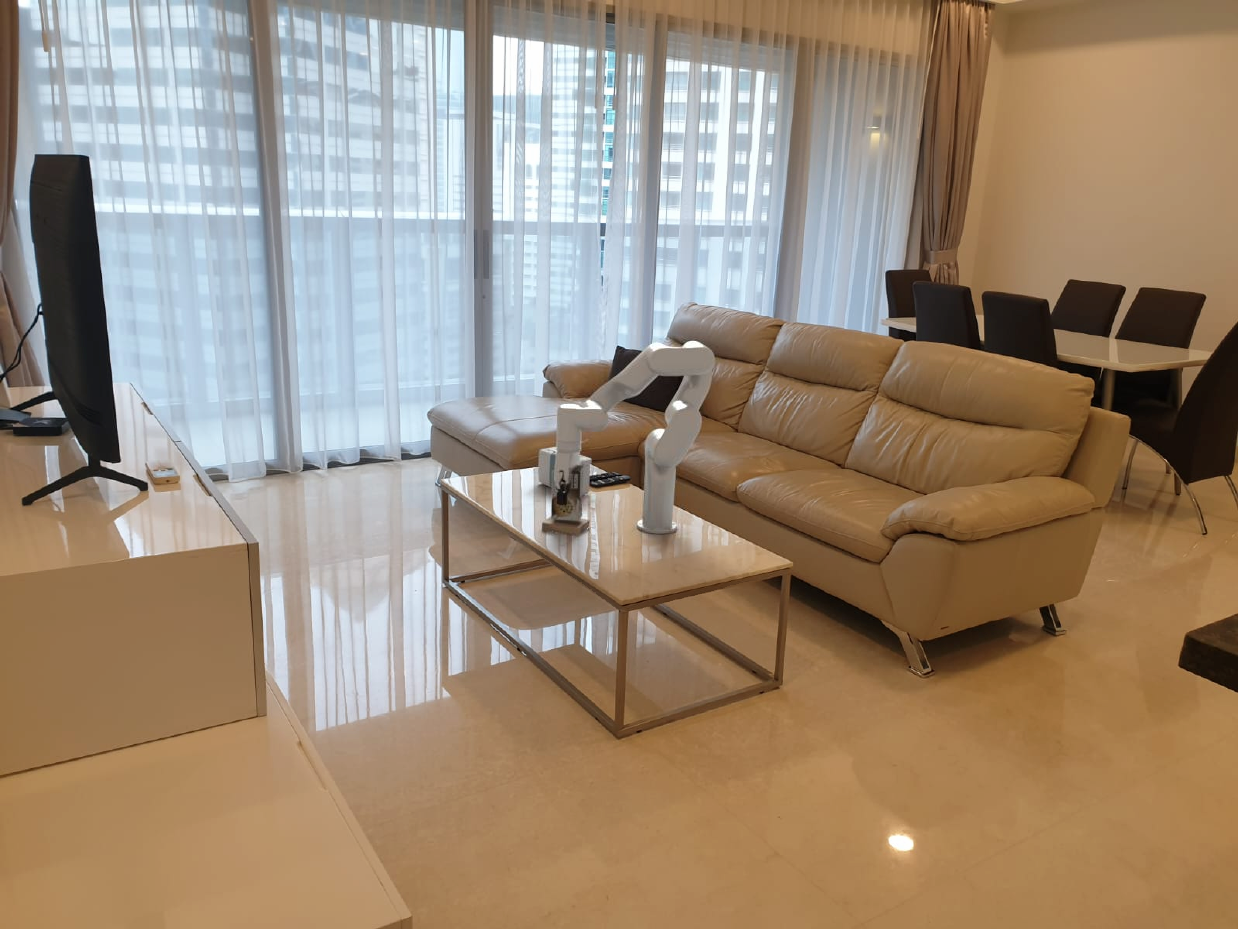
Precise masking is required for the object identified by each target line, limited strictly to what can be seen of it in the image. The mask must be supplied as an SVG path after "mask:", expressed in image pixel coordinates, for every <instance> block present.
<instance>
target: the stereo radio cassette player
mask: <svg viewBox="0 0 1238 929" xmlns="http://www.w3.org/2000/svg"><path fill="white" fill-rule="evenodd" d="M586 441H589V439H588V438H587V439H586V440H583V441H581V444H582V443H585V442H586ZM556 453H557V450H556V446H552V447H547V448H541V449H539V451H538V465H537V466H538V468H537V469H538V470H537V473H538V474H537V475H538V482H540V483H541V484H542V485H543V484H544V485H545V486H546V487H549V488H551V489H552V468H553V467H554V465H555V459H556ZM592 461H593V460H592V458H591V457H588V456H585V455H581V454H580V465H582V466H583V496H584V495H585V494H586V495H588V493H590V478H591V477H590V475H591V474H590V473H591V465H592Z"/></svg>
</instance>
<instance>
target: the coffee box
mask: <svg viewBox="0 0 1238 929" xmlns="http://www.w3.org/2000/svg"><path fill="white" fill-rule="evenodd" d="M554 468H555V465H554V467H553V468H552V488H551V501H550V502H551V504H550V507H551V508H550V510H551V513H550V517H551V519H556V520H573V521H580V519H582V517H583V496H584V495H583V466H582V465H579V466H578V467H577V468H575V469H574V470H572V475H571V482H570V483H569V484H568V486H567V490H566V492H567V505H559V504H557V491H556V490H557V489H556V485H555V482H554ZM561 482H566V480H564V477H563V479H562V481H561ZM561 486H563V488H564V485H562V484H561Z"/></svg>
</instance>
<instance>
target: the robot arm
mask: <svg viewBox="0 0 1238 929" xmlns="http://www.w3.org/2000/svg"><path fill="white" fill-rule="evenodd" d="M715 362H716V357H715V354H714V352H713V351H712V349H710V348H709V347H708V346H706V345H704V344H703V343H701V342H700V341H696V340H691V341H689V340H688V341H687V342H685V343H684V344H683V345H682V346H678V347H675V346H674V347H673V346H667V345H666V344H663V343H661V342H654V343H651V344H649V345H648V346H646V347H645V348H644V349H643V350H642V351H641V352H640V353H639V354H638V355H637V356H636V357H635V358H634V359H633V360H632V361H631V362H630V363H629V364H628V365H627V366H626V367H625V368H624V369H623V370H621V371H620V372H619V373H618V374H617V375H616V376H613V377H612V378H611V379H610V380H608V381H607V382H605V383H604V384H603V385H602V386H600V387H599V388H598V389H597V390H596V391H595V392H593V394H591V395H590V396H589V397H588V398H587V399H586V400H585V401H584V402H583V404H582V406H580V405H578V404H576V403H575V404H574V403H564V404H563V403H562V404H560V405H559V406H558V407H557V410H556V411H557V412H556V445H555V447H556V450H557V453H556V459H555V468H554V482H555V485H556V489H557V490H556V491H557V504H559V505H567V492H566V490H567V486H568V484H569V483H570V482H571V475H572V470H574V469H575V468H577V467H578V466H579V465H580V455H581V451H582V443H581V442H582V435H583V434H582V432H583V431H590V432H600V431H603V430H605V429H606V428H607V426H608V425H609V421H610V417H609V415H608V413H609V412H610V411H611V410H612V409H613V408H615V406H616V405H618V404H619V403H621V402H623V401H624V400H625V399H626V400H627V399H631V398H634V397H636V396H638V395H640V394H641V393H642V392H643V391H644V390H645V389H646V388H647V387H648V386H649V385H650V384H651V383H652V382H653V381H654V380H655V379H656V378H657V377H658V376H662V377H683V378H682V381H681V383H680V385H679V387H678V390H677V391H676V393H675V394H674V396H673V398H672V399H671V401H670V402H669V405H668V406H667V408H666V410H665V412H664V420H665V422H666V425H667V426H666V428H656V429H654V430H652V431H651V432H650V433H649V434H648V435H647V437H646V440H645V442H644V463H645V465H644V467H645V468H644V485H643V500H642V502H643V503H642V514H641V515H642V518H641V519H639V520H638V521H637V522H636V527H637V529H638V530H640V531H642V532H644V533H648V534H656V535H664V534H671V533H674V532H675V531H676V530H677V529H678V525H677V523H676V522H675V521H673V515H674V503H675V502H674V501H675V489H676V488H675V486H676V485H675V484H676V475H677V474H676V473H677V472H676V470H677V469H676V468H677V467H676V466H678V465H679V464H680V463H681V462H682V461H683V460H684V458H685V457H686V455H687V453H689V450H690V448H691V447H692V445H693V443H694V441H695V440H696V438H697V436H698V434H699V433H700V431H701V429H702V423H703V419H702V418H703V417H702V414H701V412H700V411H699V410H700V408H701V406H702V405H703V403H704V401H705V399H706V397H707V395H708V393H709V391H710V390H711V389H710V388H711V385H712V382H713V381H712V379H713V378H712V377H713V372H712V370H713V368H714V366H715ZM563 477H564V480H566V482H561V481H562V479H563ZM561 484H562V485H564V488H563V486H561Z"/></svg>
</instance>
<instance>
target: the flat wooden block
mask: <svg viewBox="0 0 1238 929" xmlns="http://www.w3.org/2000/svg"><path fill="white" fill-rule="evenodd" d="M588 527H589V528H590V520H589V519H586V518H585V519H584V518H581V519H580V521H573V520H556V519H551V516H550V517H548V518H547V519H545V520H544V521H542V522H541V531H545V532H550V531H553V532H552V533H556V532H557V534H562V535H567V534H569V535H568V536H573V535H574V536H575V537H580V535H582V534H583V533H584V532H586V529H587V528H588ZM589 528H588V529H589ZM588 529H587V530H588ZM574 536H573V537H574Z"/></svg>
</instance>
